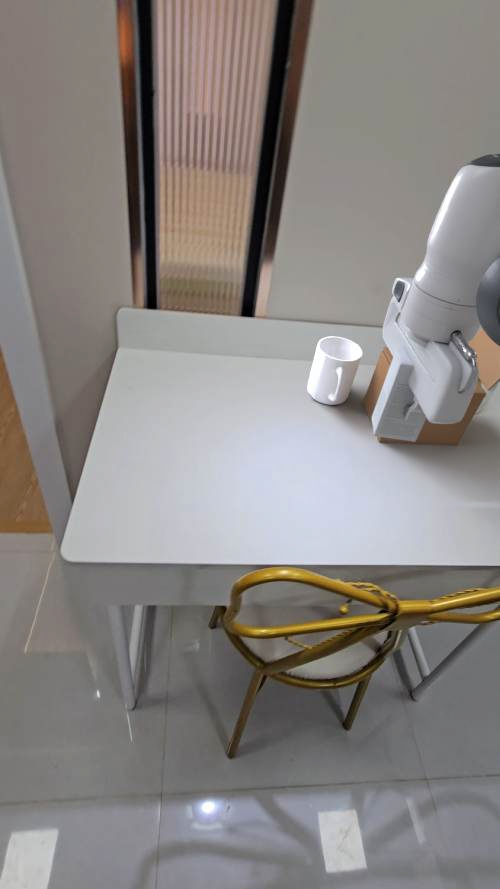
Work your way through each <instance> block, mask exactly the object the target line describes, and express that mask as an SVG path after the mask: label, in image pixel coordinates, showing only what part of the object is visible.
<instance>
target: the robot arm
mask: <svg viewBox="0 0 500 889" xmlns="http://www.w3.org/2000/svg"><path fill="white" fill-rule="evenodd" d="M425 252H426V253H425V256H424V259H423V261H422V263H421V264H420V266H419V268H418V269H417V270H416V272H415V274H414V277H396V278H395V280H394V282H393V285H392V287H391V288H392V289H391V293H392V295H393V296H392V297H391V300H390V302H389V304H388V308H387V310H386V315H385V318H384V321H383V325H382V340H383V341H384V343H385V345H386V347H387V348H388V349H389V350H390V352H391V354H392V356H394V354H395V351H396V349H397V348H402V349H404V350H405V352H406V353H407V355H408V357H409V358H410V360H411V362H412V363H413V366H414V367H413V369H412V372H411V374H410V376H409V379H408V385H409V387H410V388H411V390H412V392H413V394H414V396H415V397H414V399H413V400H414V402H415V403H414V404H413V405H406V408H405V411H404V412H403V415H404V417H405V419H406V421H407V422H411V423H416V422H418V421H419V420H420V418H421V416H422V414H423V413H424V414H425V416H426V417H427V419H428V421H429V422H431V423H436V424H454V423H457V422H459V421H461V420H462V418H463V417H464V415H465V412H466V410H467V408H468V406H469V404H470V401H471V399H472V396H473V394H474V391H475V388H476V386H477V382H478V383H479V368H478V365H477V363H476V359H477V354H476V352H475V350H474V349H473V348H471V347H470V346H469V342H470V341H471V340H472V339H473V338H474V337H475V336H476V335H477V334H478V332H479V329H480V327H481V329H482V328H483V330H484V331H485V333H486V334H487V335H488V336H489V338H490V339H491V340H492V341H494V342H495V343H496V344H497V345H499V346H500V153H495V154H486V155H483V156H479V157H477V158H474V159H472V160H471V161H469V162H467V163H466V164H464V165H463V166H462V167H461V168H460V169H459V171H458V172H457V173H456V175H455V176H454V178H453V179H452V181H451V184H450V185H449V187H448V189H447V191H446V193H445V196H444V198H443V199H442V202H441V204H440V206H439V209H438V212H437V214H436V216H435V219H434V222H433V224H432V227H431V230H430V232H429V234H428V237H427V243H426V251H425Z"/></svg>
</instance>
